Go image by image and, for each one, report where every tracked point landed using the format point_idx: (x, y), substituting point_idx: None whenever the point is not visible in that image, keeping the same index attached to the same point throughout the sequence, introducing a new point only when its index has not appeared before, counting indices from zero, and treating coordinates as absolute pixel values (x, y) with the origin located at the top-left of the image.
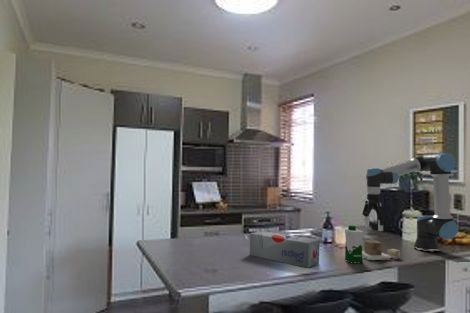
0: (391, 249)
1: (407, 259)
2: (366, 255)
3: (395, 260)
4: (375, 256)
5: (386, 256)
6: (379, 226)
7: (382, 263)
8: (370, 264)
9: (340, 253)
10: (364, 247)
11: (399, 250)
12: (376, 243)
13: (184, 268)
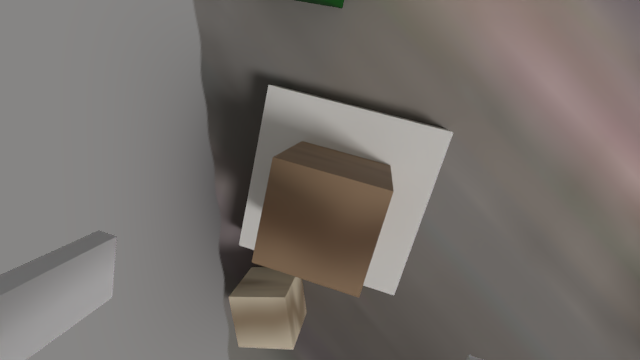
0: (280, 327)
1: (235, 332)
2: (306, 95)
3: (239, 257)
4: (260, 137)
5: (244, 216)
6: (21, 274)
7: (210, 124)
8: (213, 23)
9: (562, 44)
10: (390, 173)
11: (241, 346)
12: (263, 210)
13: None
